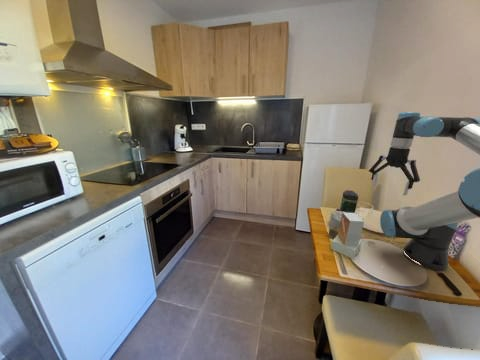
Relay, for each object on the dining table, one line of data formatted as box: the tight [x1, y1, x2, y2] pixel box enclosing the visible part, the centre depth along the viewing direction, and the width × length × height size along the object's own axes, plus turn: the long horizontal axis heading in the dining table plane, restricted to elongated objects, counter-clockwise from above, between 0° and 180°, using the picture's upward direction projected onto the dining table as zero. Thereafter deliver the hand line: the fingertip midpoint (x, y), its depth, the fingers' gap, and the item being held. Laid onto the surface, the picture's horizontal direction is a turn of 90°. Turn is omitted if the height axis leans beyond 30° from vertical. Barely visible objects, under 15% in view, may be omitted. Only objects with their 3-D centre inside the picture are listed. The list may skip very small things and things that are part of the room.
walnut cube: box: [327, 225, 339, 240], centre depth 105 cm, size 5×5×5 cm
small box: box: [338, 212, 365, 246], centre depth 92 cm, size 8×6×13 cm
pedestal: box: [330, 235, 362, 259], centre depth 95 cm, size 10×10×5 cm
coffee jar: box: [339, 189, 359, 213], centre depth 121 cm, size 10×8×19 cm
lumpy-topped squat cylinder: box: [329, 210, 346, 228], centre depth 113 cm, size 10×13×9 cm
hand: (388, 190), depth 98 cm, fingers open, 13 cm apart
